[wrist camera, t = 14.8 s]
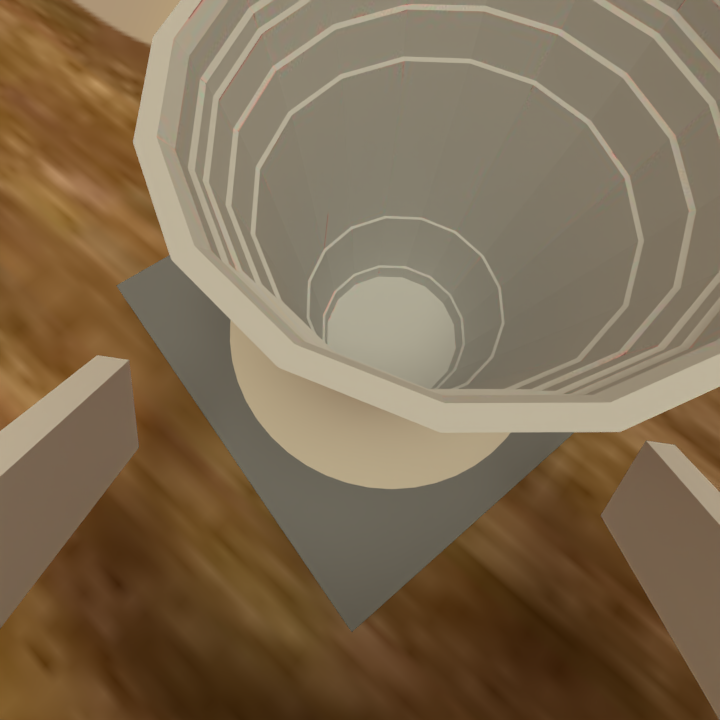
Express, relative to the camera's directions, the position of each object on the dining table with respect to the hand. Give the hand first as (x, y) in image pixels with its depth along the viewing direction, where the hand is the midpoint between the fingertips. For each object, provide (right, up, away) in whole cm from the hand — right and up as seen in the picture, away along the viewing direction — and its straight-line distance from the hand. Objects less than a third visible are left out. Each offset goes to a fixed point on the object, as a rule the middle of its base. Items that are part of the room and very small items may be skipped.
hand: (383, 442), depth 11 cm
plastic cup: (0, +3, +7) cm, 7 cm away
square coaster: (0, +3, +8) cm, 8 cm away
